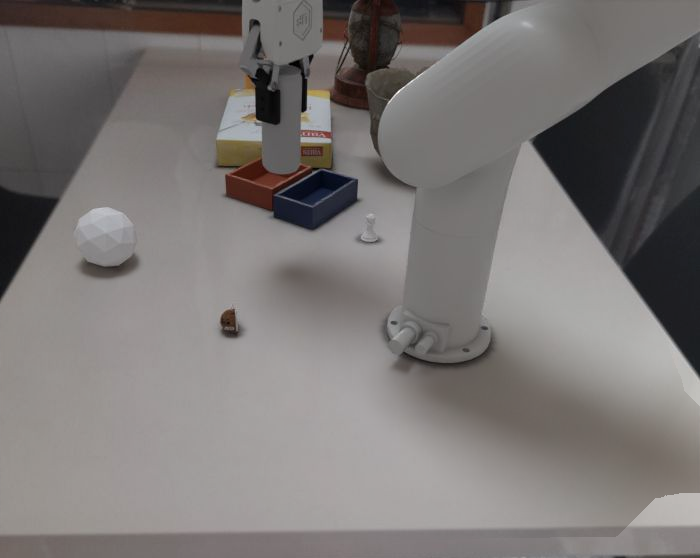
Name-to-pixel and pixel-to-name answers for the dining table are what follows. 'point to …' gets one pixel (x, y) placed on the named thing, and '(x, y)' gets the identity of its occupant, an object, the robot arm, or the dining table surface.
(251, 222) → the dining table surface
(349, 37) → the lantern
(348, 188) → the navy bin
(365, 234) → the chess pawn
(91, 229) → the geometric ball
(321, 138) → the cereal box
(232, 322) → the chocolate
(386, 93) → the bowl
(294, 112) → the beverage can
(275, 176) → the terracotta bin
